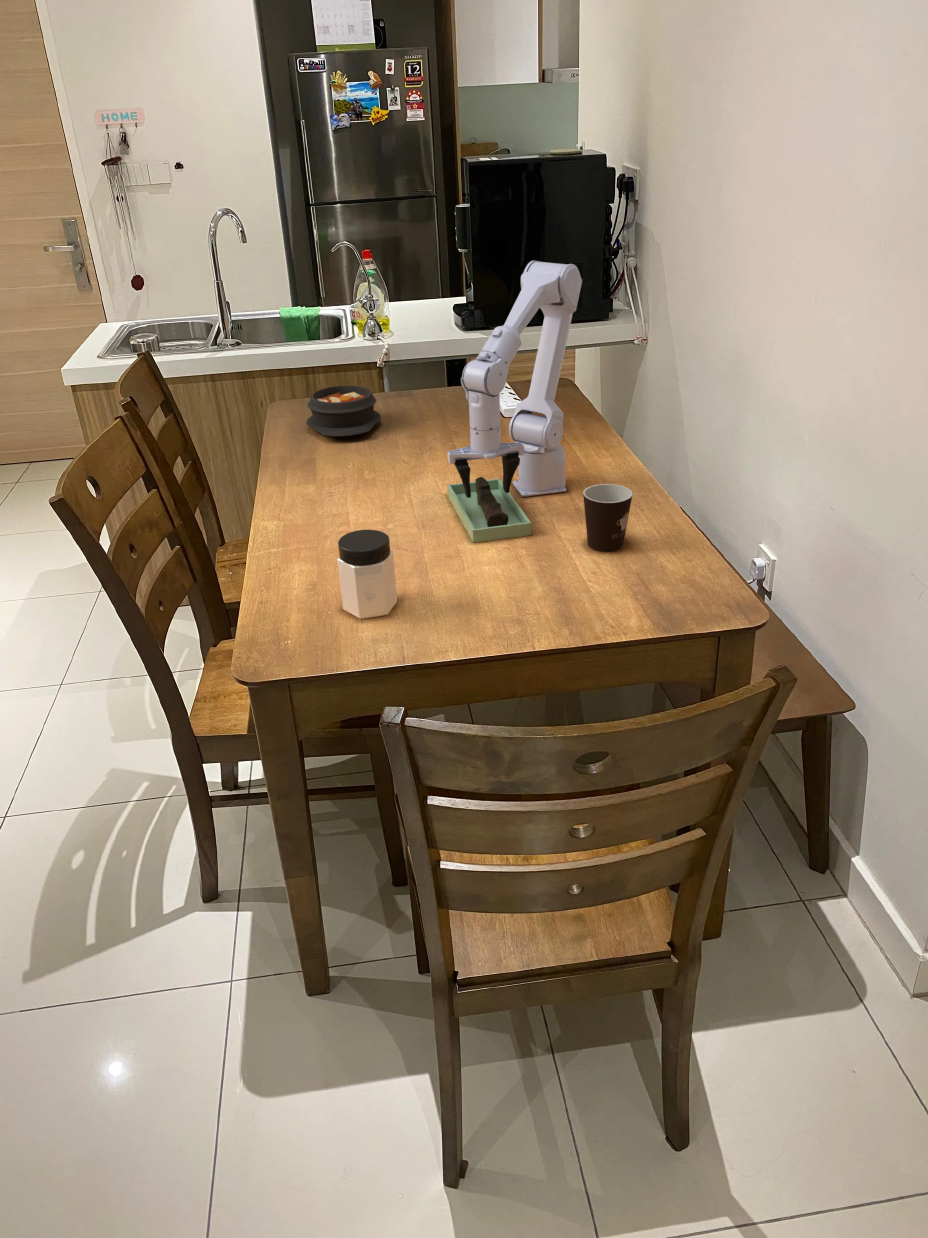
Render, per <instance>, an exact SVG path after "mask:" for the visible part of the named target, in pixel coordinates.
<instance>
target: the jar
mask: <svg viewBox="0 0 928 1238" xmlns="http://www.w3.org/2000/svg"><path fill="white" fill-rule="evenodd" d="M337 546H338V555H339V556H338V557H337V559H336V561H337V569H338V570H337V571H338V578H339V587H340V594H341V603H342V609H343V610H344V611H345V612H347V613H349V614H350V615H352V616H353V617H356V618H358V619H360V620H362V619H370V618H377V617H383V616H388V615H389V613H390V612H391V611H392V609H393V608H394V606H396V604H397V603H398V593H397V583H396V571H395V570H396V569H395V558H394V552H393V550H391V543H390V537H389V535H388V534H387V533H386V532H383V531H381V530H376V529H359V530H353V531H350V532H348V533H347V532H346V533H345V534H343V535H342V536H341V537H340V538H338V541H337Z"/></svg>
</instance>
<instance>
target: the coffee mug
mask: <svg viewBox="0 0 928 1238" xmlns="http://www.w3.org/2000/svg"><path fill="white" fill-rule="evenodd" d="M582 495H583V507H584V517H585V518H584V519H585V529H586V539H587V546H588V547H589V548H590V549H591V550H592V551H596V552H601V553H612V552H616V551H619V550H621V549H622V548H624V544H625V538H626V533H627V526H628V521H629V516H630V510H631V504H632V499H633V491H632V490H631V489H630V488H628V487H626V486H624V485H621V484H614V483H600V484H594V485H590V486H588V487H586V488H585V489H584V490H583V491H582Z"/></svg>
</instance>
